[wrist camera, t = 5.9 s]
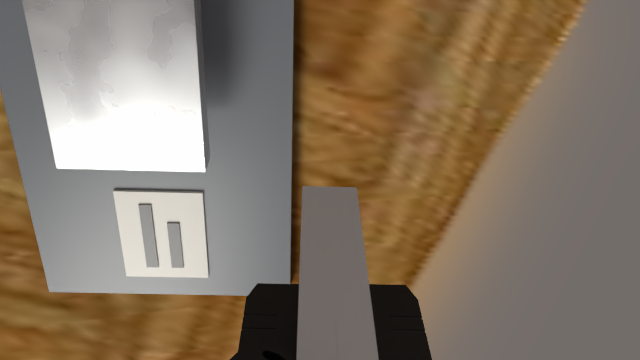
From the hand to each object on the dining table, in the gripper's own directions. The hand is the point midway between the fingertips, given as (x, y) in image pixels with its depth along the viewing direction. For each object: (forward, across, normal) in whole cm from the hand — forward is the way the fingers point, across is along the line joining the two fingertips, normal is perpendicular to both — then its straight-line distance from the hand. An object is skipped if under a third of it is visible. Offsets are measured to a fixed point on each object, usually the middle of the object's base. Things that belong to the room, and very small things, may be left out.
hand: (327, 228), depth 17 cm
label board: (+16, +9, +2) cm, 19 cm away
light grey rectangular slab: (+15, +9, -3) cm, 17 cm away
